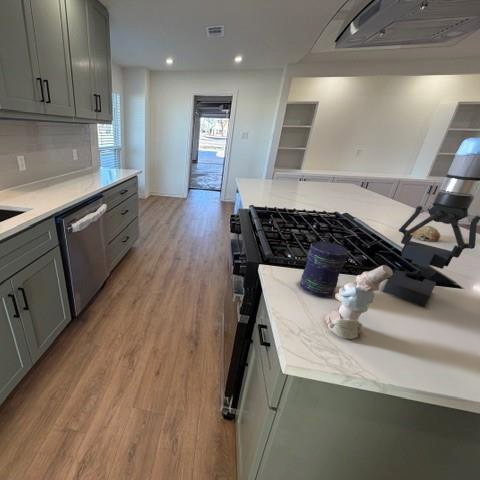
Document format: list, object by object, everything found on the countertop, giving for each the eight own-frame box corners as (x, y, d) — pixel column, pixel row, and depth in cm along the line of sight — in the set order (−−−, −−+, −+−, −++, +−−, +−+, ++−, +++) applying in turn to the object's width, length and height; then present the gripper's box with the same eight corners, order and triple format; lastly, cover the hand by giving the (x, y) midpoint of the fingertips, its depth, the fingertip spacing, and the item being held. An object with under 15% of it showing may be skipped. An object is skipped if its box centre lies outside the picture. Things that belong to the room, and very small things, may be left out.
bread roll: (408, 243, 128) (415, 232, 123) (408, 230, 134) (416, 219, 128) (435, 248, 123) (444, 237, 118) (434, 234, 129) (443, 223, 123)
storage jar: (299, 277, 89) (310, 238, 83) (331, 285, 85) (345, 244, 79) (299, 292, 81) (311, 250, 75) (335, 301, 77) (351, 257, 71)
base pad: (430, 292, 82) (436, 282, 81) (424, 307, 75) (430, 296, 74) (391, 279, 89) (395, 269, 88) (382, 291, 82) (387, 281, 81)
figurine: (369, 343, 62) (402, 272, 54) (332, 338, 63) (359, 268, 55) (351, 319, 70) (377, 254, 62) (318, 314, 71) (340, 250, 63)
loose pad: (445, 261, 83) (451, 251, 82) (441, 272, 77) (447, 260, 75) (406, 250, 91) (410, 240, 89) (398, 259, 84) (403, 248, 82)
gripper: (517, 199, 70) (474, 269, 79) (409, 185, 86) (384, 244, 95) (518, 203, 66) (473, 276, 74) (404, 187, 82) (378, 249, 90)
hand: (423, 258), depth 85 cm, fingers closed on loose pad, 10 cm apart
